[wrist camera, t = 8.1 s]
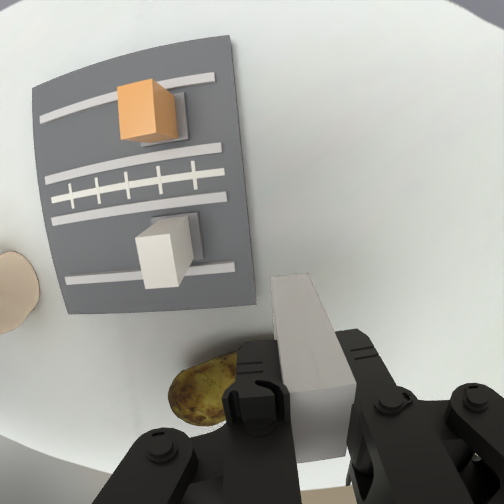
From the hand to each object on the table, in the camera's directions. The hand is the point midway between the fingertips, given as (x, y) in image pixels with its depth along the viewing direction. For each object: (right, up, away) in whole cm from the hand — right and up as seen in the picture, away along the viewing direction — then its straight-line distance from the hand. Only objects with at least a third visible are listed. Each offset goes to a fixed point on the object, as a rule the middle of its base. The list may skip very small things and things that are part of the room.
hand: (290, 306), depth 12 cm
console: (-12, +8, +15) cm, 21 cm away
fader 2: (-8, +3, +14) cm, 17 cm away
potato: (-3, -10, +21) cm, 23 cm away
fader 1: (-9, +13, +11) cm, 19 cm away
